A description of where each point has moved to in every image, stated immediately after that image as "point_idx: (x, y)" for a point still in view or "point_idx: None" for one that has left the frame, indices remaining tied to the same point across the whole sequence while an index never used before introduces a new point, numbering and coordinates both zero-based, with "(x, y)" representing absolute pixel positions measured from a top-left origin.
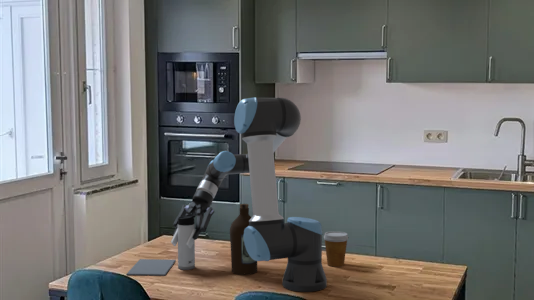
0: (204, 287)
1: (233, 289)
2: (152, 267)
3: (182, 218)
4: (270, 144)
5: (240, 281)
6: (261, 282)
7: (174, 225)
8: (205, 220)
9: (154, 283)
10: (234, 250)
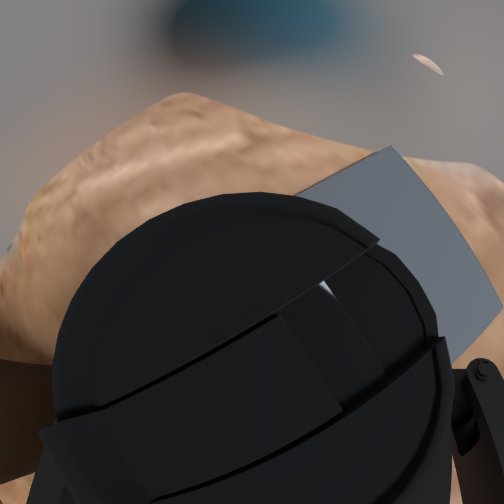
0: (91, 198)
1: (33, 232)
2: (391, 248)
3: (261, 264)
4: None
5: (36, 302)
6: (5, 321)
7: (468, 365)
8: (37, 481)
9: (243, 136)
10: (7, 363)
